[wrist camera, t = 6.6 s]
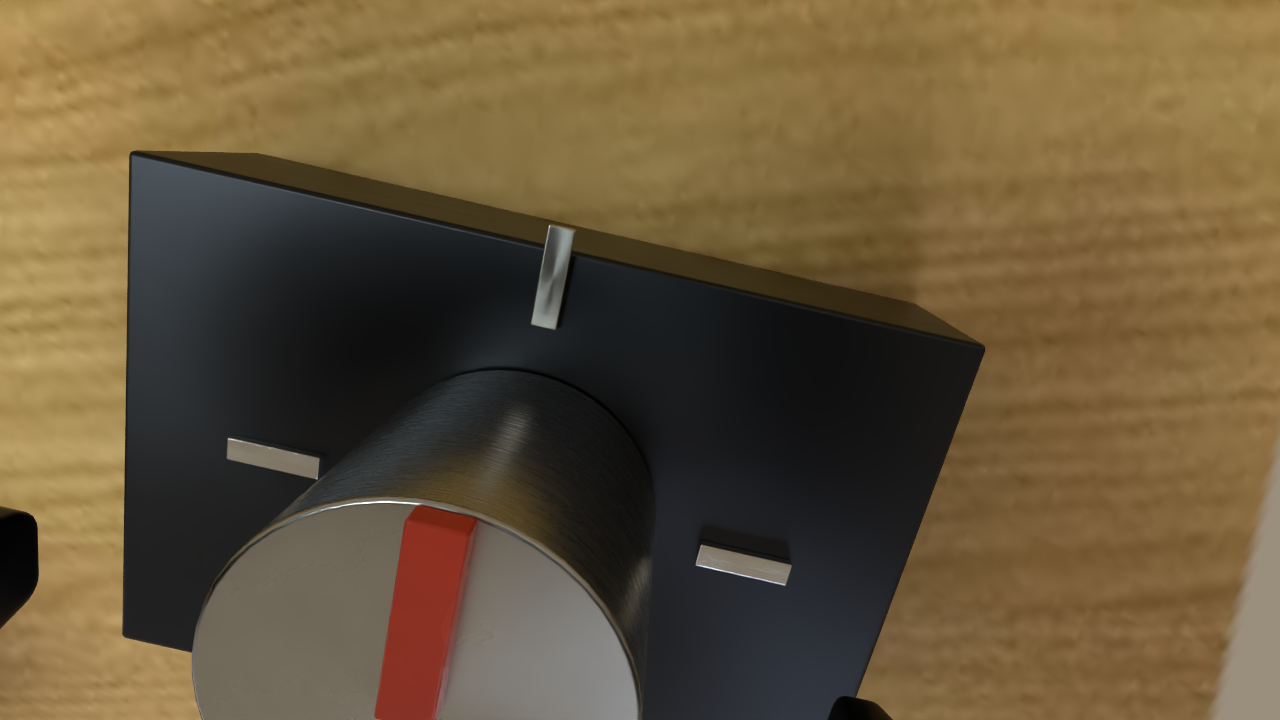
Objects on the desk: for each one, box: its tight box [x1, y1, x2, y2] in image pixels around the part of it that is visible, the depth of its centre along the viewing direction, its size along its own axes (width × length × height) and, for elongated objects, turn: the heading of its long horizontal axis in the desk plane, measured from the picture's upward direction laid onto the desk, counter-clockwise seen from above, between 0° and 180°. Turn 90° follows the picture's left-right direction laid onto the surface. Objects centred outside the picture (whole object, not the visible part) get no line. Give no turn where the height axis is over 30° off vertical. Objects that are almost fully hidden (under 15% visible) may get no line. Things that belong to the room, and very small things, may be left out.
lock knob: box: [192, 370, 656, 720], centre depth 9 cm, size 4×4×4 cm
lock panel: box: [122, 151, 985, 720], centre depth 12 cm, size 12×9×3 cm
